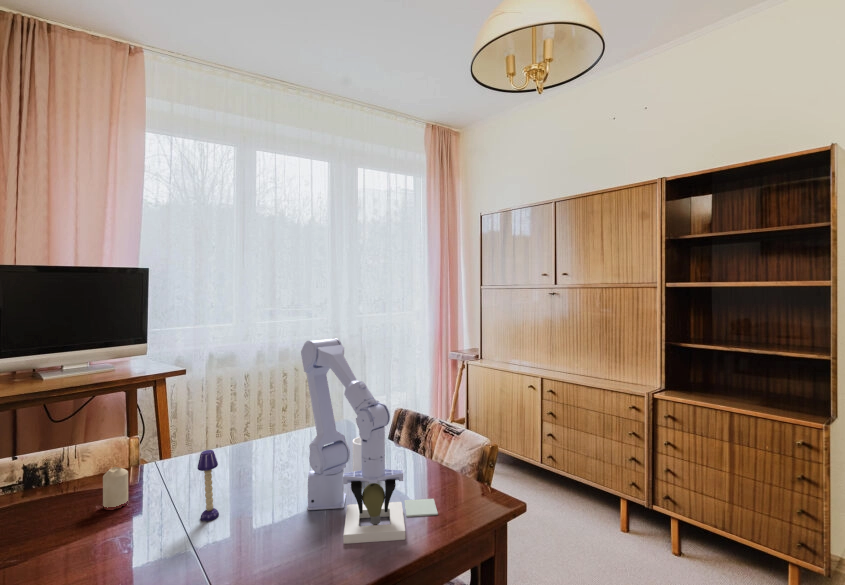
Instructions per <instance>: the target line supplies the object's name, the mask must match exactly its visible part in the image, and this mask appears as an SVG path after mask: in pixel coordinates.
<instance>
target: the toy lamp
mask: <svg viewBox="0 0 845 585" xmlns="http://www.w3.org/2000/svg"><path fill="white" fill-rule="evenodd" d="M218 465H219V463H218V459H217V457H216V453H215V451H214V450H213V449H206V450H203V451H201V452H200V454H199V458H198V464H197V470H198V471H201V472H204V477H203V478H204V486H205V487H204V491H205V493H204V494H205V495H204V496H205V504H206V505H205V510H203V512H202V513H201V515H200V519H199V520H201V521H202V522H210V521H214V520H215V519H217V518H218V517H219V515H220V513H219V510H218V509H217V508H214V498H213V496H214V493H213V480H212V478H213V474H212V472H213V470H214V469H216V468H217V467H218Z"/></svg>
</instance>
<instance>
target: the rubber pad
mask: <svg viewBox="0 0 845 585" xmlns="http://www.w3.org/2000/svg"><path fill="white" fill-rule="evenodd" d="M404 508H405V515H406V518H412V517H427V516H439V513H438V510H437V506H436V502H435V498H423V499H422V498H421V499H420V498H419V499H406V500H405V499H404Z"/></svg>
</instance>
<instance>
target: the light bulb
mask: <svg viewBox="0 0 845 585" xmlns="http://www.w3.org/2000/svg"><path fill="white" fill-rule="evenodd" d="M362 503H363V504H364V505H365V507H366V508H367V510H368V513H369V515H370V518H369V519H370V524H371V525H379V524H380V523H381V517H380V513H381V508H382V505H383V503H385V488H383V486H382V485H381V484H379V483H378V482H377V483H369V484H367V485H366V486H365V487H364V489H362Z"/></svg>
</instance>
